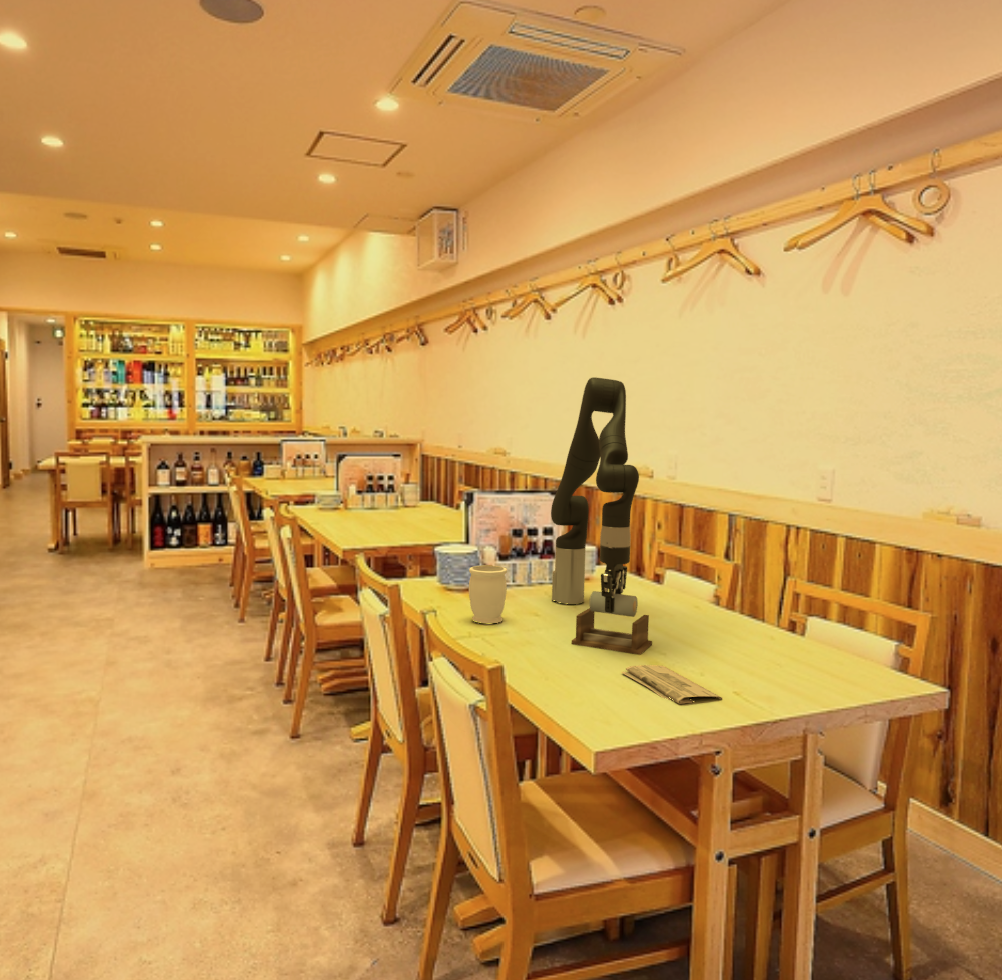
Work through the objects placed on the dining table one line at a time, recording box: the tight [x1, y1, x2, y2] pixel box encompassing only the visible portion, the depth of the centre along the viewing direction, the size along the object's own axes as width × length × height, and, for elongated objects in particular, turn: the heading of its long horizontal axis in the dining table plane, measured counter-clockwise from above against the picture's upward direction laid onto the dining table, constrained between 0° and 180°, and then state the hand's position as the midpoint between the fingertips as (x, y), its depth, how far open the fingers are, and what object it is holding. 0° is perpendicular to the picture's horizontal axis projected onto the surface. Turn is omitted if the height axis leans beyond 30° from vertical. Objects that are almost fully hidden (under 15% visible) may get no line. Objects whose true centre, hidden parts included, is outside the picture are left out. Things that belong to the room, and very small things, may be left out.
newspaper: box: [620, 664, 723, 705], centre depth 172 cm, size 23×12×2 cm, turn 20°
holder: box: [571, 607, 653, 656], centre depth 203 cm, size 18×10×8 cm, turn 63°
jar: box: [468, 565, 508, 624], centre depth 223 cm, size 11×10×15 cm
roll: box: [589, 590, 639, 618], centre depth 202 cm, size 11×5×5 cm, turn 63°
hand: (613, 609), depth 202 cm, fingers closed on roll, 5 cm apart
